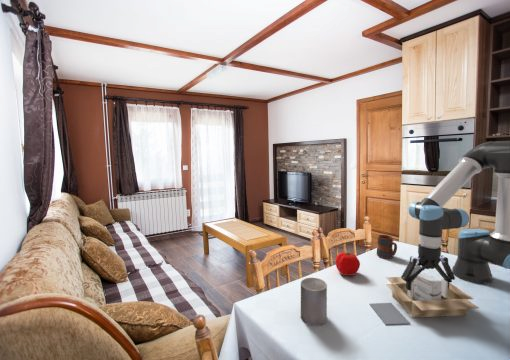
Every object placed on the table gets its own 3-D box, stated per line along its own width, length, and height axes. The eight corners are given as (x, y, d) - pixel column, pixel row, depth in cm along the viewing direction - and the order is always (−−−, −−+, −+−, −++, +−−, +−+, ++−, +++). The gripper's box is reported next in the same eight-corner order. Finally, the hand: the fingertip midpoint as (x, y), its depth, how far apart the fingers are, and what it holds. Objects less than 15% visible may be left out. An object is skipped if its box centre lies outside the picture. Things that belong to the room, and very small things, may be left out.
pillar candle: (299, 310, 107) (298, 274, 106) (323, 309, 107) (323, 274, 105) (302, 326, 98) (302, 287, 96) (329, 326, 97) (330, 286, 96)
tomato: (331, 274, 137) (331, 253, 136) (340, 266, 146) (340, 246, 145) (354, 281, 130) (355, 258, 128) (363, 272, 138) (363, 251, 137)
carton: (437, 288, 121) (438, 275, 120) (486, 323, 97) (487, 307, 96) (379, 290, 120) (379, 277, 120) (413, 326, 96) (413, 310, 95)
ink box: (441, 310, 105) (443, 281, 104) (431, 312, 104) (433, 283, 102) (422, 298, 113) (423, 271, 112) (412, 300, 112) (414, 273, 111)
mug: (390, 262, 149) (391, 242, 148) (373, 255, 160) (373, 235, 159) (401, 259, 153) (402, 239, 151) (383, 252, 164) (384, 233, 162)
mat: (391, 303, 110) (391, 302, 110) (410, 324, 97) (410, 322, 97) (369, 304, 110) (369, 303, 110) (385, 325, 97) (385, 324, 97)
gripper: (453, 241, 110) (450, 290, 112) (393, 242, 109) (391, 292, 111) (468, 247, 102) (464, 300, 105) (403, 249, 102) (401, 302, 104)
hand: (426, 296), depth 108 cm, fingers open, 13 cm apart
